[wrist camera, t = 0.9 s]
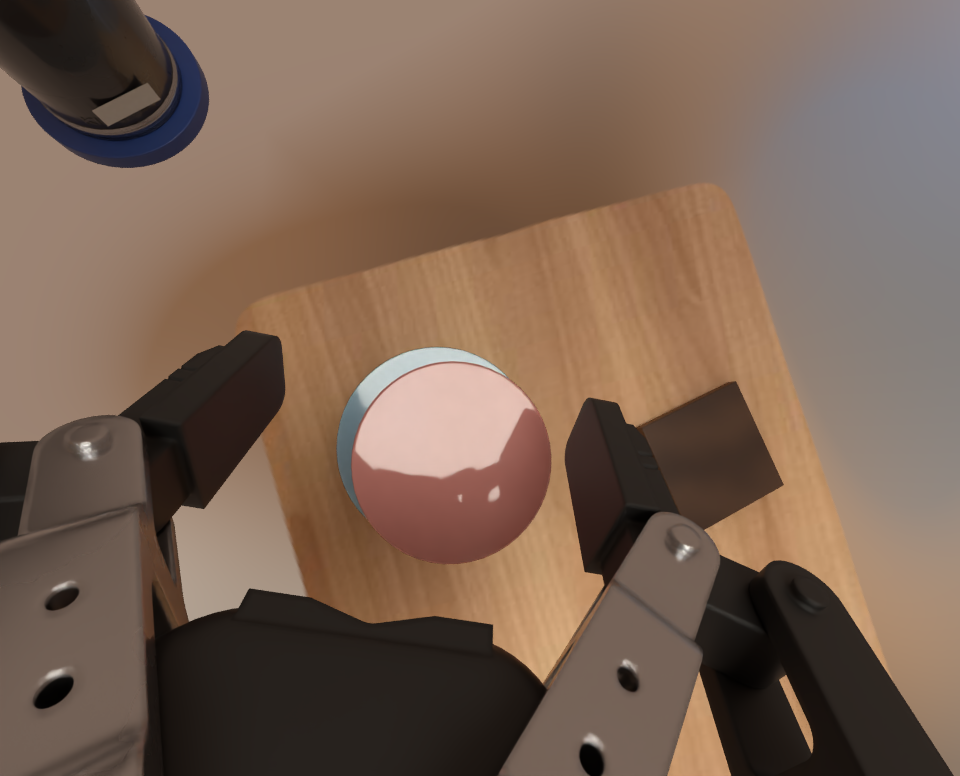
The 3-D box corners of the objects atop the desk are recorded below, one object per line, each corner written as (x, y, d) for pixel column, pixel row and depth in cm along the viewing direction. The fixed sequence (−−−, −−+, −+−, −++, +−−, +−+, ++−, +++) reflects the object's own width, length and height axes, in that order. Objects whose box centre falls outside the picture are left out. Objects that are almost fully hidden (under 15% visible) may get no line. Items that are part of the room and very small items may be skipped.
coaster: (636, 427, 32) (641, 427, 31) (728, 382, 33) (736, 381, 32) (684, 534, 31) (691, 537, 31) (775, 483, 33) (784, 485, 32)
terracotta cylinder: (362, 416, 22) (317, 409, 12) (468, 370, 23) (504, 331, 13) (409, 523, 22) (400, 603, 12) (514, 473, 23) (583, 508, 13)
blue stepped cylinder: (312, 394, 28) (279, 385, 22) (480, 325, 30) (496, 298, 24) (386, 566, 28) (376, 609, 21) (551, 484, 30) (587, 500, 24)
